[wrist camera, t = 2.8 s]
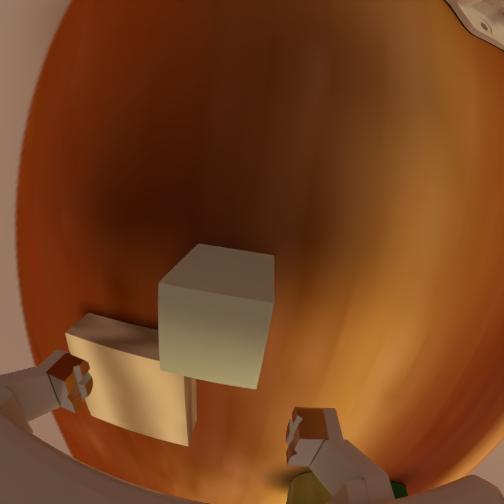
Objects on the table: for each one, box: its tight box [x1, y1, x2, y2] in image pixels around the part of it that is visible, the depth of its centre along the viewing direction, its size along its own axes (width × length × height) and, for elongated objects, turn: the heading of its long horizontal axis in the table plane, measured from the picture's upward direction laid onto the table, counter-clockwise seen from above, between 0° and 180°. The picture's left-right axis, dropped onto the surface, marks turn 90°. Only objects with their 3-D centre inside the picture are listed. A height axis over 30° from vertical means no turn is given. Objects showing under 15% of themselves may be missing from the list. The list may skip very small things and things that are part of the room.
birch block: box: [65, 313, 197, 446], centre depth 20 cm, size 10×10×4 cm
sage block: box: [158, 243, 274, 389], centre depth 16 cm, size 5×5×7 cm
